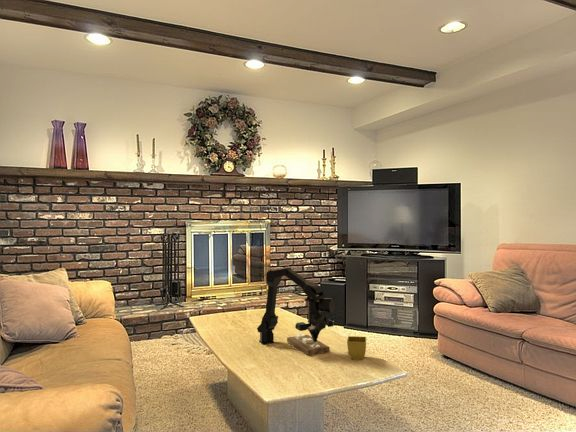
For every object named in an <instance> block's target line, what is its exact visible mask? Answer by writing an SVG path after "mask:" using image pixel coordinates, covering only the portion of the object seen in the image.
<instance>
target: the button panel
mask: <svg viewBox="0 0 576 432" xmlns="http://www.w3.org/2000/svg"><path fill="white" fill-rule="evenodd" d="M304 335H305V338H311V339H312V340H313V338H312V336H311V335H308V334H304ZM286 342H287V343H288V344H289V345H291V346H292V347H294V348H296V349H297V351H300V352H302V354H304V355H306V356H309V357H310V356H313V355H319V354H320V355H321V354H326V353H330V346H328V345H326V344H325V343H323V342H321V341H320V340H318V339H317V341H316V342H314V341H313V343H308V344H304V343H303V342H302V339H299V340H298V339H296V338H295V335H294V336H288V337H287V338H286ZM314 344H317V345H319V346H320V347H319V348H311V347H310V345H314Z"/></svg>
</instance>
